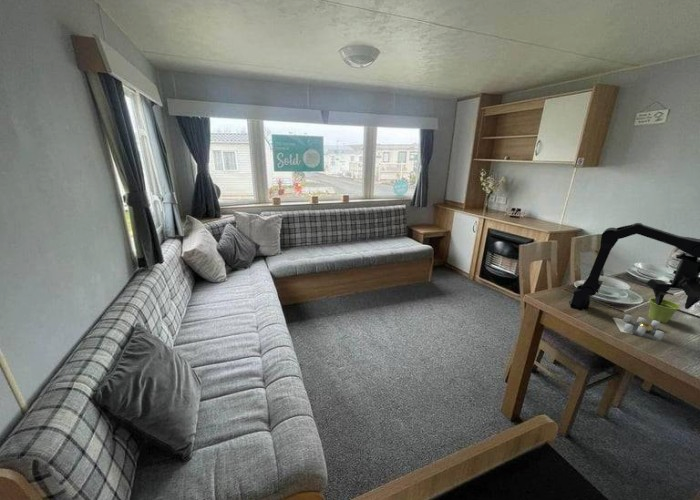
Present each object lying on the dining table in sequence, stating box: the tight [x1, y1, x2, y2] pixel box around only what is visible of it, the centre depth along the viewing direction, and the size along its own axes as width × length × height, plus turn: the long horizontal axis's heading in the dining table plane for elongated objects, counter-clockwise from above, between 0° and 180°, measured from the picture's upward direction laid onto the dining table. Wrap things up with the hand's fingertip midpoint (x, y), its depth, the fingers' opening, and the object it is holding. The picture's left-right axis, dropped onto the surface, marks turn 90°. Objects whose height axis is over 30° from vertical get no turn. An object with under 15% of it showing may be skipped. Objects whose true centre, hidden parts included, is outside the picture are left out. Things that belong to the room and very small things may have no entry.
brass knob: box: [637, 322, 653, 333], centre depth 121 cm, size 4×4×3 cm
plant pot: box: [648, 297, 681, 324], centre depth 129 cm, size 9×9×9 cm
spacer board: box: [612, 313, 666, 343], centre depth 122 cm, size 15×12×4 cm
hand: (671, 306), depth 117 cm, fingers open, 9 cm apart
